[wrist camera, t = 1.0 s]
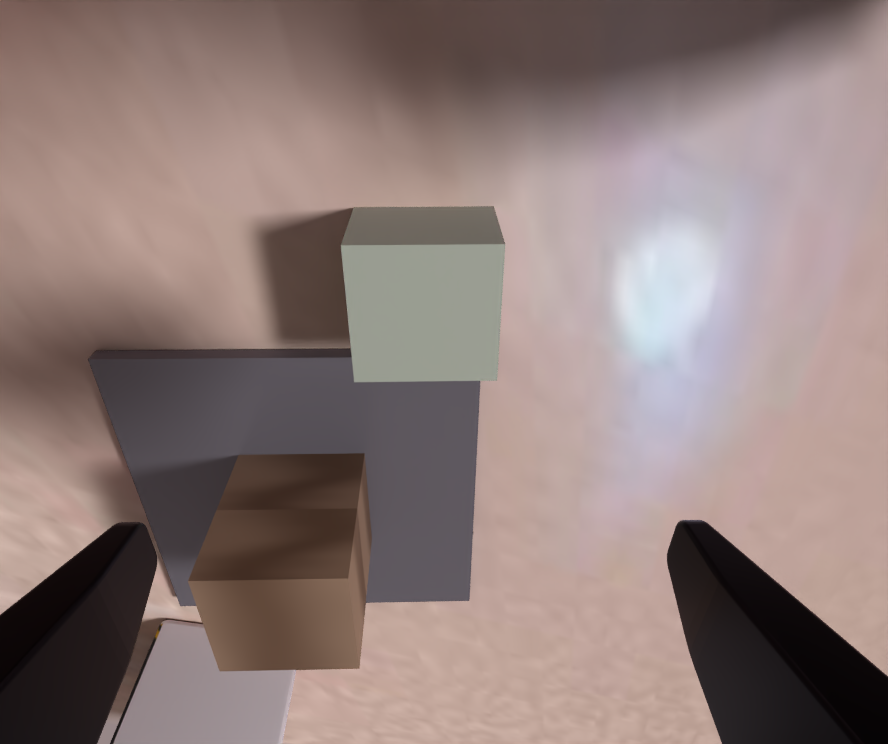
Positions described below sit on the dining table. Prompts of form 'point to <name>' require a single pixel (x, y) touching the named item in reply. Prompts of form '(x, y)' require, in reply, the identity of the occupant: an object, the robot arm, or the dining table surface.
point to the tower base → (302, 487)
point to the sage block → (423, 293)
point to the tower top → (282, 589)
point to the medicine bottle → (201, 696)
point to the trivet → (300, 451)
